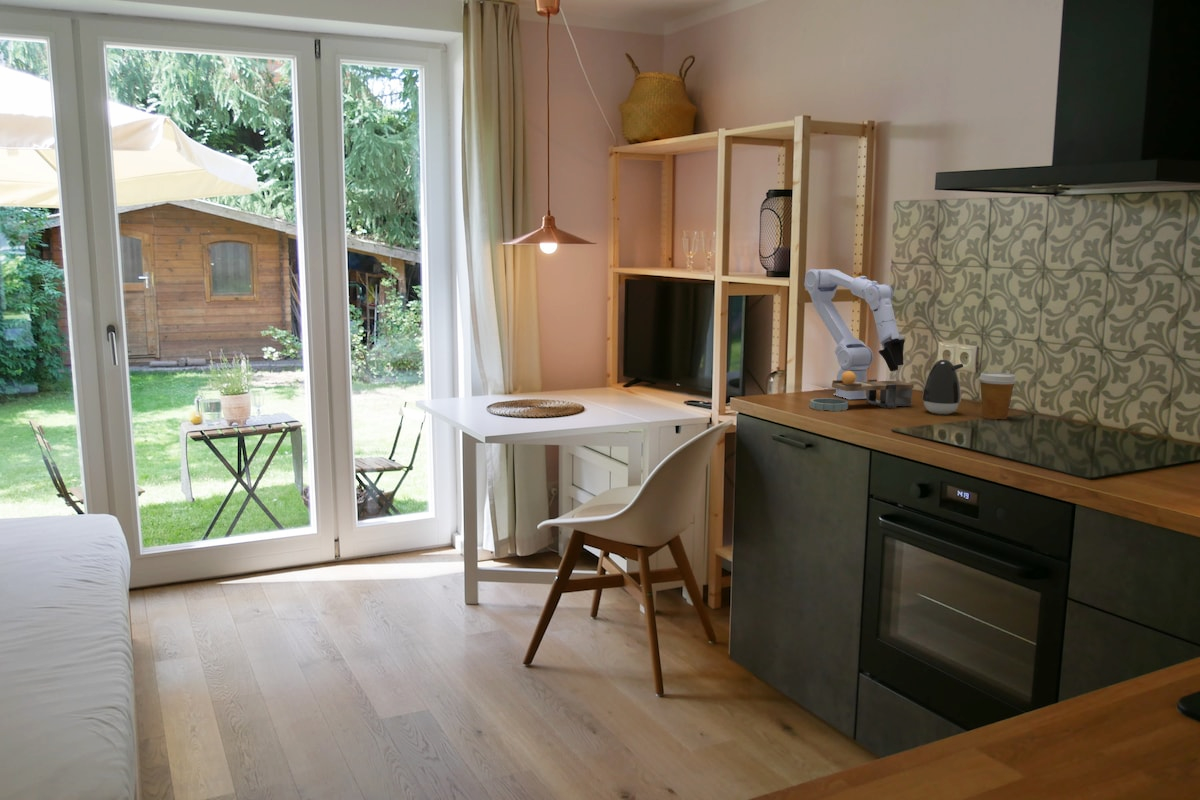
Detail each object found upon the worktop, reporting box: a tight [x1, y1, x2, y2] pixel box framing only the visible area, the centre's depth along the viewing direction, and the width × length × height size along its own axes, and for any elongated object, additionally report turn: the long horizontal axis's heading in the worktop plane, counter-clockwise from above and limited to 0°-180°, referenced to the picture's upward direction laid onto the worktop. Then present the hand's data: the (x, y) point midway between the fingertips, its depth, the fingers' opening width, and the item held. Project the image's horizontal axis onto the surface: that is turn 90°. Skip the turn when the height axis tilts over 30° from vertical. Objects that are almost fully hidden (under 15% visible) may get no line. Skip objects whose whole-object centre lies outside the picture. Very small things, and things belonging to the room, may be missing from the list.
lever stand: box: [866, 378, 912, 410], centre depth 288 cm, size 9×11×7 cm
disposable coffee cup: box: [978, 371, 1017, 420], centre depth 269 cm, size 10×10×12 cm
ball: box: [842, 371, 856, 384], centre depth 283 cm, size 4×4×4 cm
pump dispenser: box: [922, 359, 964, 415], centre depth 275 cm, size 10×10×15 cm
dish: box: [809, 397, 849, 412], centre depth 283 cm, size 11×11×2 cm
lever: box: [831, 379, 914, 404], centre depth 286 cm, size 22×8×6 cm, turn 107°
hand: (896, 368), depth 285 cm, fingers open, 7 cm apart
